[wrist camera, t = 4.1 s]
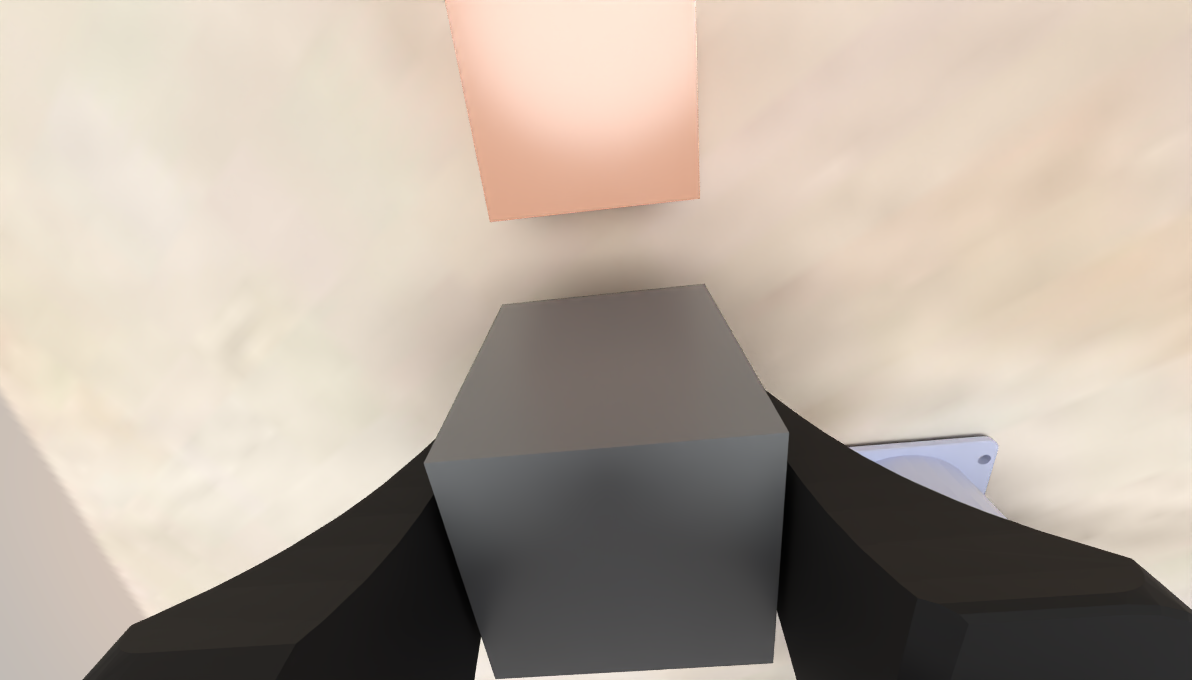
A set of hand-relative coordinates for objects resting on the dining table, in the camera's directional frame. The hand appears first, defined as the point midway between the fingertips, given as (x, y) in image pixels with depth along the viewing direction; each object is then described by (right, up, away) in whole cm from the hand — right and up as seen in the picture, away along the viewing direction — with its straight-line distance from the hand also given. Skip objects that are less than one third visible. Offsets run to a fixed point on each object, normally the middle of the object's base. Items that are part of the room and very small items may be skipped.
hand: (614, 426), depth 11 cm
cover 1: (-1, +10, +5) cm, 11 cm away
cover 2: (0, +1, +2) cm, 2 cm away
